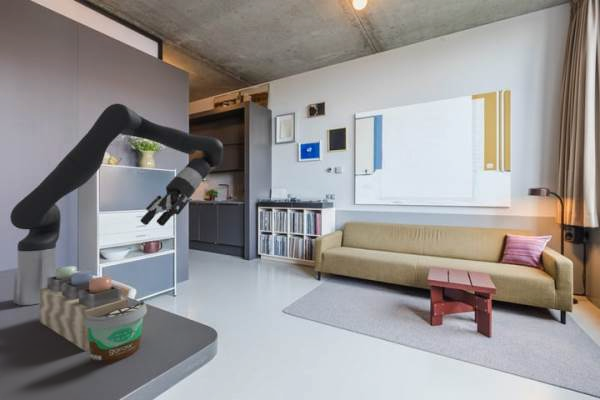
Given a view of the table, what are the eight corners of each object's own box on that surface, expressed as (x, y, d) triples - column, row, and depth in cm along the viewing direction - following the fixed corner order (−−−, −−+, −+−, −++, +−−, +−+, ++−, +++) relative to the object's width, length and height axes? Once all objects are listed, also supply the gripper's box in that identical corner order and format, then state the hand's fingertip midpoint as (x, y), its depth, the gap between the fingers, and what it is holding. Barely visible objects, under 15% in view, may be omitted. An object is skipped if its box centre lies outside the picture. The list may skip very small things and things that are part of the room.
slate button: (68, 286, 72) (68, 273, 72) (88, 281, 76) (88, 270, 76) (75, 289, 70) (75, 276, 70) (95, 284, 73) (95, 272, 73)
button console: (39, 321, 76) (40, 278, 76) (78, 310, 84) (79, 271, 84) (85, 351, 61) (86, 298, 62) (127, 334, 69) (128, 287, 69)
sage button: (53, 279, 77) (53, 268, 77) (72, 276, 81) (72, 265, 81) (59, 282, 75) (59, 270, 75) (79, 278, 78) (79, 267, 78)
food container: (96, 374, 53) (96, 323, 53) (82, 364, 57) (83, 316, 57) (157, 346, 64) (157, 304, 64) (143, 339, 67) (143, 298, 67)
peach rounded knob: (85, 293, 67) (86, 280, 67) (105, 288, 70) (106, 275, 70) (94, 296, 64) (94, 283, 64) (114, 291, 68) (114, 278, 68)
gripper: (164, 177, 89) (128, 214, 80) (191, 174, 82) (155, 215, 72) (179, 193, 94) (147, 230, 84) (206, 191, 86) (174, 232, 77)
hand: (151, 223), depth 78 cm, fingers open, 8 cm apart
